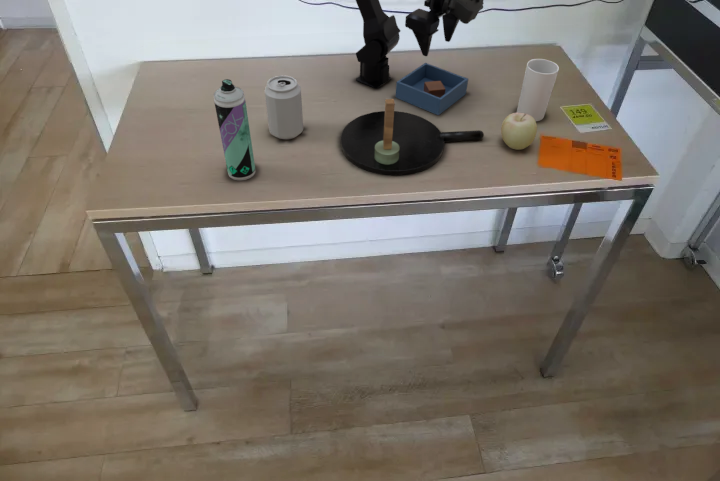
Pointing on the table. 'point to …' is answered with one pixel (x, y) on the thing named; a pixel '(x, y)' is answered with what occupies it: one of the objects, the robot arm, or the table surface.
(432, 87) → the reddish brown square block
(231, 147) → the spray can
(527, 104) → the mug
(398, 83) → the bin
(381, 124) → the griddle pan
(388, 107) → the dish brush
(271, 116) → the can
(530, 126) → the fruit
